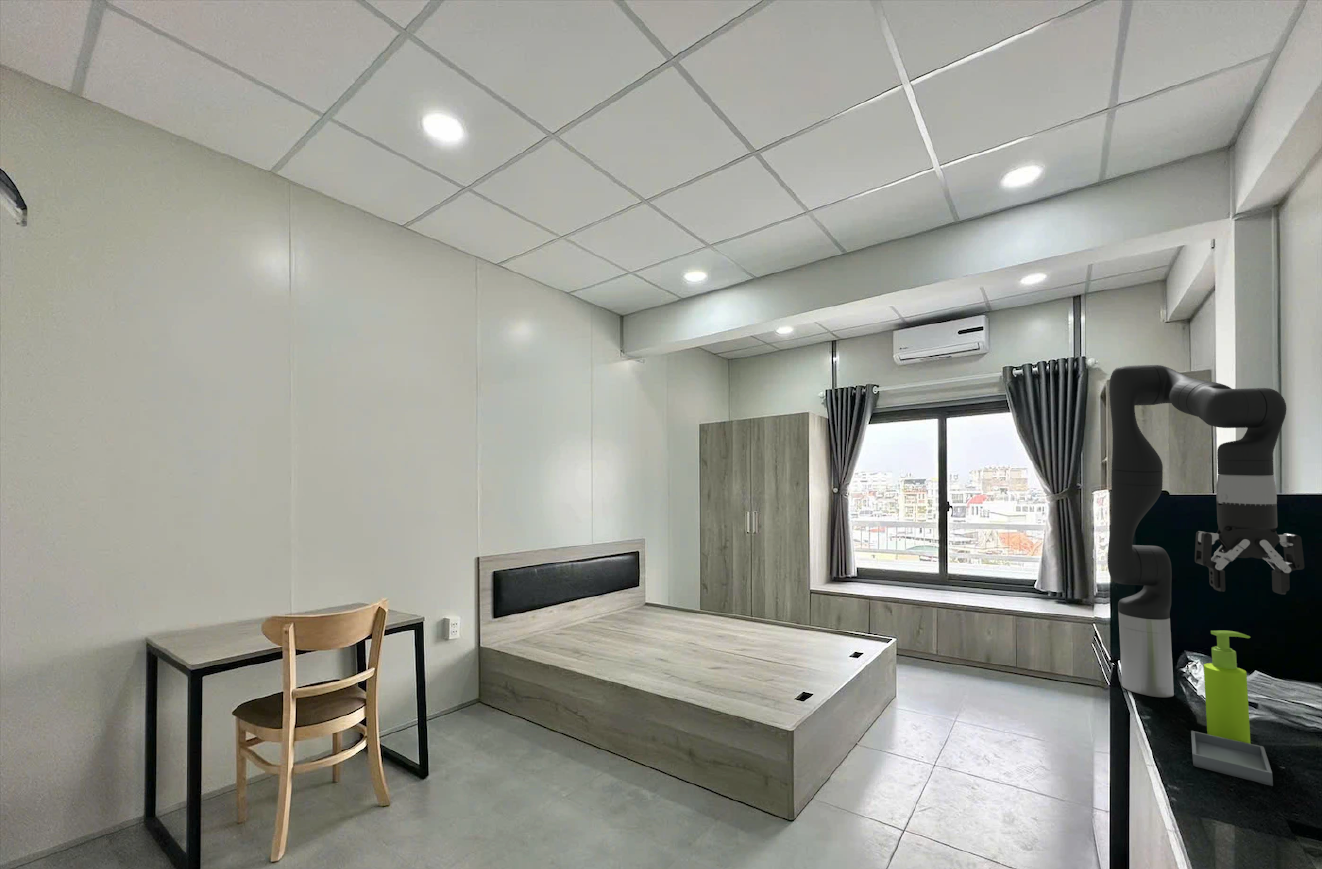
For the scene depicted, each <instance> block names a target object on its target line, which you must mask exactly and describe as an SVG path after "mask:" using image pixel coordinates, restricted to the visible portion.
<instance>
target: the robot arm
mask: <svg viewBox="0 0 1322 869" xmlns="http://www.w3.org/2000/svg"><path fill="white" fill-rule="evenodd" d="M1108 385H1109V386H1108V392H1109V393H1108V394H1109V395H1108V396H1109V406H1110V417H1111V418H1110V419H1111V430H1112V432H1111V434H1112V444H1111V445H1112V454H1111V455H1112V456H1111V469H1110V470H1111V471H1110V472H1111V473H1110V474H1111V476H1110V477H1111V480H1110V482H1111V517H1110V518H1111V519H1110V530H1109V540H1108V546H1107V547H1108V548H1107V559H1106V560H1107V569H1108V573H1109V574H1108V575H1109V577H1110V578H1111V579H1112V581H1113V582H1115V583H1116V584H1120V585H1129V586H1130V585H1132V586H1143V587H1142V589H1141V590H1140V591H1138V592H1137V593H1134V594H1132V595H1129V596H1126V597H1123V598H1120V599H1119V601H1118V602H1117V611H1118V627H1119V648H1120V650H1119V651H1120V652H1119V653H1120V654H1119V655H1120V671H1121V672H1120V673H1121V674H1120V675H1121V686H1122V687H1123V688H1124V689H1126V690H1127V691H1130V692H1132V693H1135V694H1139V695H1144V696H1148V697H1153V698H1154V697H1155V698H1172V697H1174V695H1175V693H1174V672H1173V652H1172V632H1171V617H1170V613H1171V607H1172V579H1173V578H1172V576H1173V575H1172V562H1171V559H1170V556H1169V554H1168V552H1167V551H1166V550H1165V549H1164V548H1163V547H1161V546H1158V545H1148V544H1147V545H1143V544H1142V545H1140V544H1133V543H1134V536H1135V534H1136V530H1137V527H1138V525H1139V523H1140V522H1141V521H1142V519H1143V518H1144V517H1145V516H1146V514H1147V513H1148V512H1149V511H1150V510H1151V509H1152V507H1153V506H1154V505H1155V503H1156V502H1157V501H1158V499H1159V497H1160V496H1161V494H1162V491H1163V483H1164V482H1163V479H1164V478H1163V477H1164V476H1163V474H1164V472H1163V470H1164V468H1163V462H1162V459H1161V457H1160V455H1159V454H1158V453H1157V451H1156V450H1155V448H1154V447H1153V446H1152V444H1151V443H1150V442H1149V441H1148V439H1147V438H1146V437H1145V436H1144V434H1143V433H1142V431H1141V429H1140V428H1139V425H1138V421H1137V416H1136V412H1135V408H1136V407H1135V406H1154V405H1161V404H1171V405H1172V406H1173V407H1174V408H1175V409H1177V411H1179V412H1182V413H1184V414H1188V415H1191V416H1193V417H1197V418H1199V419H1200V420H1202V421H1203V423H1205V424H1207V425H1208V426H1211V427H1215V428H1221V429H1236V428H1237V429H1242V428H1243V429H1244V428H1246V429H1247V430H1245V431H1246V432H1245V434H1244V435H1243V436H1242V438H1240V439H1238V440H1232V441H1227V442H1223V443H1221V444H1219V446H1218V447H1217V451H1216V458H1217V460H1216V461H1217V481H1216V489H1215V491H1216V494H1215V495H1216V518H1217V519H1216V520H1217V521H1216V522H1217V526H1218V529H1217V532H1216V533H1214V532H1206V531H1201V530H1198V531H1196V533H1195V544H1194V545H1195V546H1194V562H1195V563H1196V564H1199V565H1202V566H1204V567H1207V568H1208V575H1209V576H1208V580H1209V585H1210V586H1211V587H1212V588H1213V590H1215V591H1218V592H1226V571H1225V570H1224V569H1225V567H1226V566H1227V565H1229V563H1230V562H1231V563H1232V562H1233V561H1234V560H1236V559H1237V558H1238V559H1239V558H1240V559H1249V558H1254V559H1256V560H1257V559H1262V560H1264V561H1266V562H1267V564H1269V565H1270V567H1271V568H1272V569H1273V570H1271V586H1272V587H1271V588H1272V589H1271V590H1272V592H1273V593H1276V594H1279V595H1287V592H1289V591H1290V589H1291V587H1290V585H1291V583H1290V574H1291V572H1293V571H1297V570H1299V571H1301V570H1304V569H1305V558H1304V551H1303V549H1304V548H1303V543H1302V542H1303V540H1302V537H1301V536H1300V535H1298V534H1294V533H1288V532H1286V533H1283V534H1278V533H1277V528H1278V506H1277V505H1278V503H1277V502H1278V495H1277V486H1276V481H1275V477H1274V450H1275V447H1276V444H1277V442H1278V438H1279V436H1280V433H1281V429H1282V427H1283V424H1284V421H1285V418H1286V415H1287V403H1286V400H1285V398H1284V397H1283V395H1282V394H1281V393H1280V392H1278V391H1277V390H1276V389H1272V388H1270V387H1269V388H1268V387H1254V388H1231V387H1230V386H1229V385H1226V384H1222V383H1220V382H1214V381H1211V380H1210V381H1209V380H1203V379H1196V378H1193V377H1190V376H1188V375H1185V374H1183V373H1181V372H1179V371H1176V370H1175V369H1173V368H1170V367H1167V366H1166V365H1165V366H1164V365H1159V364H1142V365H1122V366H1119V367H1116V368H1115V369H1114V370H1113V371H1112V373H1111V374H1110V377H1109V384H1108ZM1216 541H1218V543H1219V544H1220V546H1219V547H1218V548H1216V551H1214V553H1213V556H1212V548H1213V545H1214V544H1215V543H1216ZM1278 544H1280V546H1282V547H1283V555H1284V556H1283V557H1284V558H1283V557H1282V556H1281V554H1280V553H1278V551H1277V550H1275V547H1276V546H1277V545H1278Z"/></svg>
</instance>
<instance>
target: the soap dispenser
mask: <svg viewBox="0 0 1322 869" xmlns="http://www.w3.org/2000/svg"><path fill="white" fill-rule="evenodd" d="M1210 634H1211V635H1213V636H1216V645H1214V646H1212V647H1211V662H1208V663H1203V680H1204V698H1205V713H1206V714H1205V718H1206V731H1207V733H1206V734H1209V735H1214V736H1218V737H1223V738H1227V739H1232V740H1236V741H1241V742H1245V743H1249V744H1252V743H1251V742H1252V741H1251V727H1250V712H1249V710H1250V709H1249V695H1248V693H1249V692H1248V676H1247V675H1248V674H1247V671H1246V670H1245V669H1243V668H1240V667H1238V663H1237V651H1236V650H1234V649H1233V648H1231V646H1230V637H1232V638H1233V637H1235V638H1237V637H1238V638H1245V639H1250V638H1251V636H1250V635H1247V634H1245V633H1242V632H1239V631H1233V630H1220V629H1219V630H1210Z"/></svg>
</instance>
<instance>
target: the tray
mask: <svg viewBox="0 0 1322 869" xmlns="http://www.w3.org/2000/svg"><path fill="white" fill-rule="evenodd" d="M1190 734H1191V735H1190V737H1191V752H1192V766H1193V767H1196V768H1201V769H1205V770H1207V771H1208V770H1209V771H1212V772H1216V773H1219V774H1224V775H1228V776H1232V777H1235V778H1236V777H1237V778H1240V779H1242V780H1247V781H1251V782H1255V783H1259V784H1263V785H1267V786H1271V787H1274V780H1273V771H1272V769H1271V765H1270V761H1269V758H1268V756H1267V753H1266V749H1265V747H1264V746H1262V745H1258V744H1253V743H1251V744H1249V743H1245V742H1241V741H1236V740H1232V739H1227V738H1223V737H1218V736H1214V735H1209V734H1207V733H1204V732H1199V731H1194V730H1190Z"/></svg>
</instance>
